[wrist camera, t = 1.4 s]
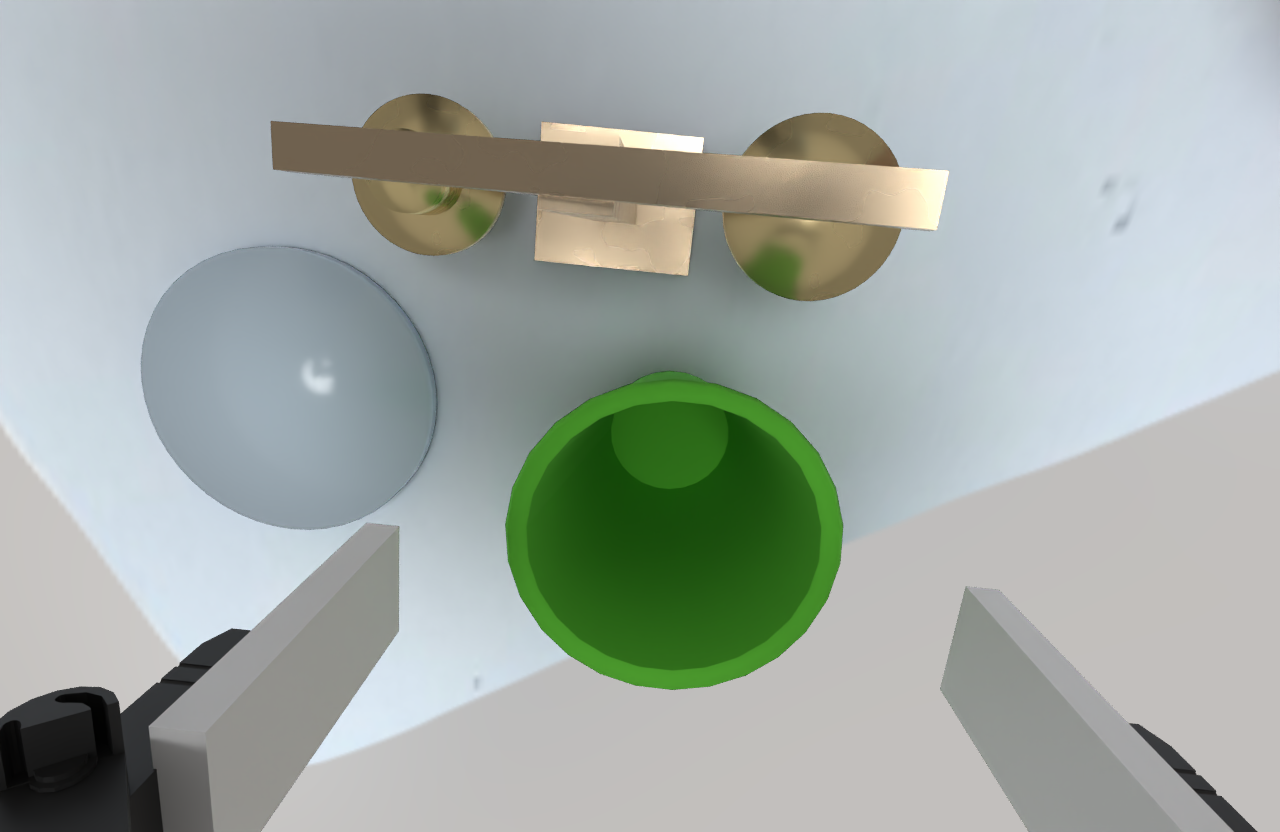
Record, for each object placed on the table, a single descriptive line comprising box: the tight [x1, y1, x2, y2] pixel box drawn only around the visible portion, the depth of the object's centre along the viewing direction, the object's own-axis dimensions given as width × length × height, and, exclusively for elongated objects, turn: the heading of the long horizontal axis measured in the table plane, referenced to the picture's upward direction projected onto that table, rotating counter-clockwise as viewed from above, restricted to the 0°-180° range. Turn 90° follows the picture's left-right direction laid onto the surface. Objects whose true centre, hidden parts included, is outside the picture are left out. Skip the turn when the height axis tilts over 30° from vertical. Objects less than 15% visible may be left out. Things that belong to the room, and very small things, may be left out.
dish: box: [141, 247, 437, 530], centre depth 28 cm, size 12×12×1 cm
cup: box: [505, 371, 843, 690], centre depth 23 cm, size 9×9×11 cm
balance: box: [271, 94, 949, 301], centre depth 19 cm, size 17×5×14 cm, turn 84°
